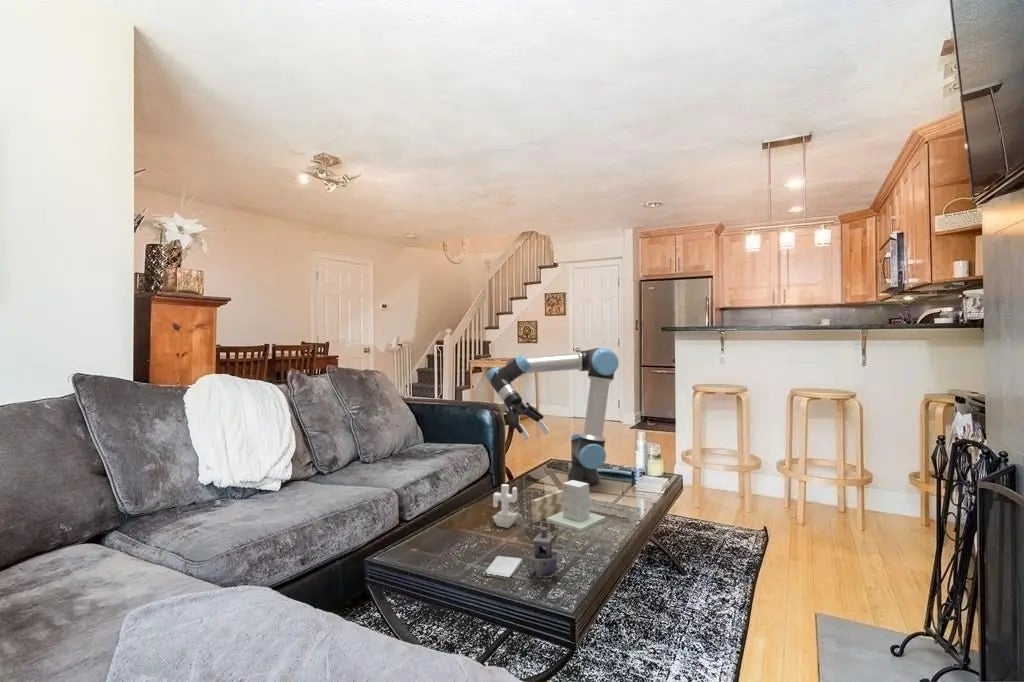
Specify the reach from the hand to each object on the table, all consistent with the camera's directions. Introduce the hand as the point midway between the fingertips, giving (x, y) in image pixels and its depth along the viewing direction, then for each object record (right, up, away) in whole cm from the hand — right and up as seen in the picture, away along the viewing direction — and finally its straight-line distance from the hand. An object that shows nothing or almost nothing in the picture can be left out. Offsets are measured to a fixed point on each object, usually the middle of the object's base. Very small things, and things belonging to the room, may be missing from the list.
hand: (537, 435), depth 213 cm
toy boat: (-1, -29, -65) cm, 71 cm away
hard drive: (-13, -29, -60) cm, 69 cm away
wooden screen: (+5, -28, -13) cm, 32 cm away
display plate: (+13, -28, -21) cm, 38 cm away
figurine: (-13, -29, -25) cm, 40 cm away
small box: (+14, -27, -21) cm, 37 cm away
